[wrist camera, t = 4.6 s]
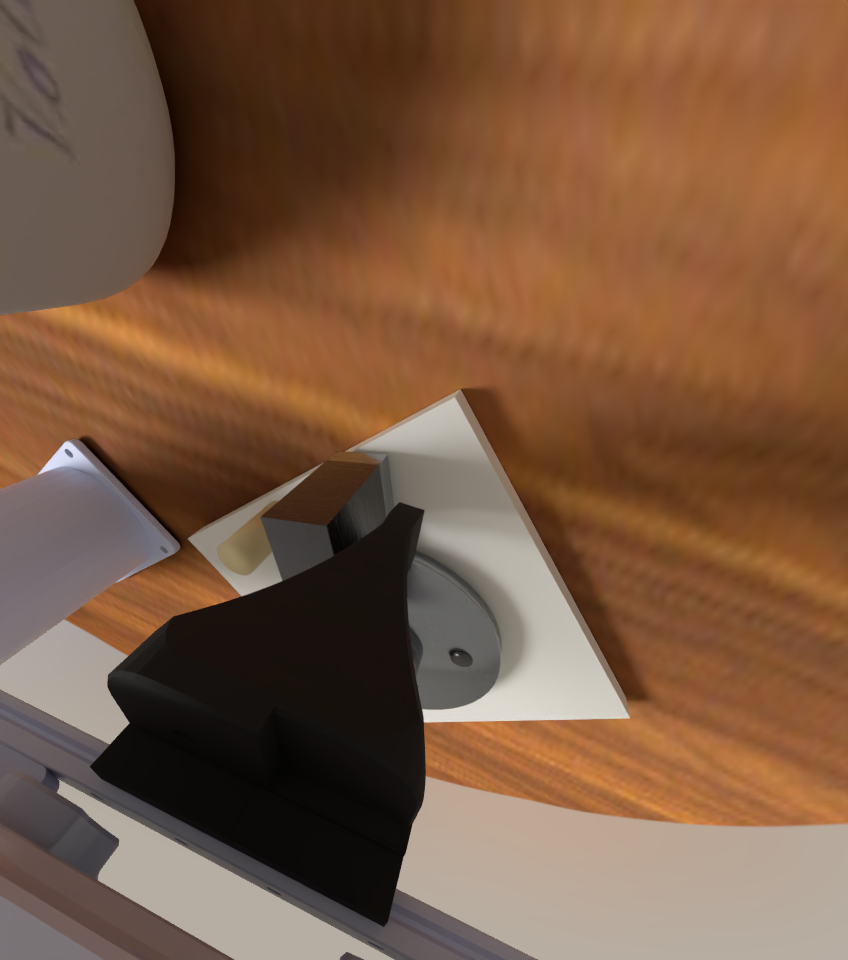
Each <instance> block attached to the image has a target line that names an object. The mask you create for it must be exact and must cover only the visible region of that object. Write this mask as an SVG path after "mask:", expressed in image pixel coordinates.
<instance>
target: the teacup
mask: <svg viewBox="0 0 848 960" xmlns="http://www.w3.org/2000/svg"><path fill="white" fill-rule="evenodd" d="M174 190H175V152H174V142H173V133H172V127H171V122H170V116H169V111H168V106H167V102H166V98H165V95H164V91H163V87H162V83H161V80H160V76H159V73H158V69H157V66H156V62H155V59H154V55H153V52H152V49H151V46H150V43H149V40H148V37H147V35H146V32H145V29H144V26H143V24H142V21H141V18H140V15H139V12H138V10H137V7H136V5H135V3H134V0H0V315H4V314H12V313H20V312H29V311H37V310H43V309H50V308H57V307H64V306H71V305H78V304H83V303H87V302H91V301H95V300H99V299H103V298H106V297H109V296H112V295H114V294H117V293H119V292H121V291H123V290H125V289H127V288H128V287H130V286H131V285H132V284H134V283H135V282H136V281H138V280H139V279H140V278H142V277H143V276H144V274H145V273H146V272H147V271H148V270H149V269H150V268H151V267H152V265H153V264H154V262H155V261H156V259H157V258H158V256H159V254H160V251H161V249H162V247H163V245H164V242H165V240H166V238H167V234H168V230H169V227H170V223H171V216H172V210H173V203H174Z"/></svg>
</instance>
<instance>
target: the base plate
mask: <svg viewBox="0 0 848 960" xmlns="http://www.w3.org/2000/svg"><path fill="white" fill-rule="evenodd" d="M346 452H359V453H373V454H387V455H388V460H389V469H390V477H391V486H392V495H393V503H394V507H395V506H396V505H397V504H398V503H399V502H401V503H404V504H407V505H410V506H413V507H416V508H420V509H423V510H425V511H424V516H423V520H422V525H421V530H420V534H419V539H418V543H417V548H416V551H418V552H420V553H423V554H425V555H427V556H429V557H431V558H433V559H434V560H436V561H438V562H440V563H442V564H443V565H445V566H446V567H448V568H449V569H451V570H452V571H454V572H455V573H456V574H458V575H459V576H460V577H461V578H462V579H464V580H465V581H466V582H467V583H468V584H469V585H470V586H471V587H472V588H473V589H474V590H475V591H476V592H477V593H478V594H479V595H480V596H481V598H482V599H483V600H484V601H485V603H486V604H487V605H488V607H489V609H490V610H491V612H492V614H493V615H494V617H495V620H496V622H497V625H498V627H499V630H500V635H501V640H502V653H501V664H500V670H499V675H498V678H497V680H496V682H495V684H494V686H493V687H492V688H491V689H490V691H489V692H488V693H487V694H485V695H484V696H483V697H482V698H480V699H479V700H477V701H475V702H473V703H471V704H468V705H465V706H462V707H458V708H453V709H444V710H426V709H422V711H423V716H424V722H465V721H518V720H571V719H624V718H630V714H629V710H628V705H627V701H626V696H625V695H624V693H623V691H622V689H621V687H620V685H619V683H618V682H617V680H616V678H615V676H614V674H613V672H612V670H611V669H610V667H609V665H608V663H607V661H606V659H605V657H604V655H603V654H602V652H601V650H600V648H599V646H598V644H597V642H596V641H595V639H594V637H593V635H592V633H591V631H590V629H589V628H588V626H587V624H586V622H585V620H584V618H583V616H582V614H581V613H580V611H579V609H578V607H577V605H576V603H575V601H574V600H573V598H572V596H571V594H570V592H569V590H568V588H567V587H566V585H565V583H564V581H563V579H562V577H561V575H560V573H559V572H558V570H557V568H556V566H555V564H554V562H553V560H552V559H551V557H550V555H549V553H548V551H547V549H546V547H545V545H544V544H543V542H542V540H541V538H540V536H539V534H538V532H537V531H536V529H535V527H534V525H533V523H532V521H531V519H530V518H529V516H528V514H527V512H526V510H525V508H524V506H523V504H522V503H521V501H520V499H519V497H518V495H517V493H516V491H515V490H514V488H513V486H512V484H511V482H510V480H509V478H508V477H507V475H506V473H505V471H504V469H503V467H502V465H501V463H500V462H499V460H498V458H497V456H496V454H495V452H494V450H493V449H492V447H491V445H490V443H489V441H488V439H487V437H486V436H485V434H484V432H483V430H482V428H481V426H480V424H479V422H478V421H477V419H476V417H475V415H474V413H473V411H472V409H471V408H470V406H469V404H468V402H467V400H466V398H465V396H464V394H463V393H462V391H461V389H460V390H458V391H456V392H454V393H452V394H450V395H449V396H447V397H445V398H443V399H441V400H439V401H437V402H435V403H434V404H432V405H430V406H428V407H426V408H424V409H422V410H421V411H419V412H417V413H415V414H413V415H411V416H409V417H408V418H406V419H404V420H402V421H400V422H398V423H396V424H394V425H393V426H391V427H389V428H387V429H385V430H383V431H381V432H380V433H378V434H376V435H374V436H372V437H370V438H368V439H367V440H365V441H363V442H361V443H359V444H357V445H355V446H353V447H352V448H350V449H348V450H346ZM322 464H323V463H322ZM322 464H320V465H318V466H316V467H314V468H312V469H311V470H309V471H307V472H305V473H303V474H301V475H299V476H298V477H296V478H294V479H292V480H290V481H288V482H286V483H284V484H283V485H281V486H279V487H277V488H275V489H273V490H271V491H270V492H268V493H266V494H264V495H262V496H260V497H258V498H257V499H255V500H253V501H251V502H249V503H247V504H245V505H243V506H242V507H240V508H238V509H236V510H234V511H232V512H230V513H229V514H227V515H225V516H223V517H221V518H219V519H217V520H216V521H214V522H212V523H210V524H208V525H206V526H204V527H202V528H201V529H200V530H198V531H197V532H196V533H194V534H193V535H192V536H190V537H189V538H187V539H188V540H189V541H190V542H191V543H192V544H193V545H194V546H195V547H196V548H197V549H198V550H199V552H200V553H201V554H202V555H203V556H204V557H205V558H206V559H207V560H208V561H209V562H210V563H211V564H212V565H213V566H214V567H215V568H216V569H217V571H218V572H219V573H220V574H221V575H222V576H223V577H224V578H225V579H226V580H227V581H228V582H229V583H230V584H231V585H232V586H233V587H234V588H235V590H236V591H237V592H238V593H239V594H240V595H241V596H244V595H247V594H250V593H252V592H255V591H258V590H261V589H263V588H266V587H269V586H271V585H274V584H276V583H279V582H281V581H282V578H281V575H280V572H279V570H278V567H277V564H276V561H275V558H274V555H273V552H272V549H271V547H270V544H269V541H268V538H267V535H266V532H265V529H264V526H263V524H262V521H261V518H260V517H261V516H262V515H263V514H264V513H265V512H267V511H268V510H269V509H270V508H271V507H272V506H274V505H275V504H276V503H277V502H278V501H279V500H281V499H282V498H283V497H284V496H285V495H287V494H288V493H289V492H290V491H291V490H292V489H294V488H295V487H296V486H297V485H298V484H299V483H301V482H302V481H303V480H304V479H305V478H306V477H308V476H309V475H310V474H311V473H312V472H313V471H315V470H316V469H317V468H318V467H319V466H321V465H322Z"/></svg>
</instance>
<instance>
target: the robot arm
mask: <svg viewBox="0 0 848 960" xmlns="http://www.w3.org/2000/svg"><path fill="white" fill-rule="evenodd" d="M424 511H425V510H423V509H420V508H416V507H413V506H410V505H407V504H404V503H401V502H399V503H398V504H397V505H396V506H395V507H394V508H393V509H392V510H391V511H390V513H389V514H388V516H387V517H386V519H385V521H384V522H383V523H382V524H381V525H379V526H378V527H377V528H375V529H374V530H372V531H371V532H370V533H368V534H367V535H366V536H364V537H363V538H361V539H360V540H358V541H357V542H355V543H353V544H352V545H350V546H349V547H347V548H346V549H344V550H342V551H341V552H339V553H337V554H336V555H334V556H332V557H330V558H329V559H327V560H325V561H323V562H321V563H319V564H317V565H315V566H314V567H312V568H310V569H308V570H305V571H303V572H301V573H299V574H297V575H295V576H292V577H290V578H288V579H286V580H283V581H281V582H279V583H276V584H274V585H271V586H269V587H266V588H263V589H261V590H258V591H255V592H252V593H250V594H247V595H244V596H242V597H239V598H236V599H233V600H230V601H227V602H224V603H220V604H217V605H213V606H210V607H206V608H203V609H199V610H196V611H192V612H189V613H185V614H181V615H177V616H174V617H172V618H171V619H170V620H169V621H168V622H166V623H165V624H164V625H163V626H161V627H160V628H159V629H158V630H156V631H155V632H154V633H153V634H152V635H151V636H150V637H149V638H148V639H146V640H145V641H144V642H143V643H142V644H141V645H140V646H139V647H138V648H137V649H136V650H135V651H133V652H132V653H131V654H130V655H129V656H128V657H127V658H126V659H125V660H124V661H123V662H122V663H120V664H119V666H117V667H116V668H115V669H114V670H113V671H112V672H111V673H110V674H109V675H108V689H109V691H110V693H111V695H112V696H113V698H114V699H115V701H116V703H117V704H118V706H119V707H120V709H121V710H122V712H123V713H124V715H125V716H126V718H127V719H128V721H129V722H130V723H129V725H128V726H127V727H126V728H125V729H124V730H123V731H122V732H121V733H120V734H119V735H118V736H117V737H116V739H115V740H114V741H113V742H112V743H111V744H110V745H109V744H107V743H105V742H103V741H101V740H99V739H97V738H95V737H93V736H91V735H89V734H87V733H85V732H83V731H81V730H79V729H77V728H75V727H73V726H71V725H69V724H67V723H65V722H64V721H61V720H60V719H57V718H56V717H54V716H52V715H50V714H48V713H46V712H44V711H42V710H40V709H38V708H36V707H34V706H32V705H30V704H28V703H26V702H24V701H22V700H20V699H18V698H16V697H14V696H12V695H10V694H8V693H6V692H4V691H2V690H0V960H234V959H232V958H231V957H229V956H227V955H225V954H224V953H222V952H220V951H218V950H217V949H215V948H213V947H212V946H210V945H208V944H206V943H205V942H203V941H201V940H199V939H198V938H196V937H194V936H193V935H191V934H189V933H187V932H186V931H183V930H182V929H180V928H179V927H177V926H175V925H174V924H172V923H170V922H168V921H167V920H165V919H163V918H162V917H160V916H158V915H156V914H155V913H153V912H151V911H149V910H147V909H146V908H144V907H143V906H141V905H139V904H137V903H136V902H134V901H132V900H130V899H129V898H127V897H125V896H124V895H122V894H120V893H118V892H116V891H115V890H113V889H111V888H110V887H108V886H106V885H105V884H103V883H101V882H99V881H98V874H99V871H100V870H101V868H102V867H103V866H104V864H105V863H106V862H107V860H108V859H109V858H110V856H111V855H112V854H113V852H114V851H115V850H116V848H117V847H118V845H119V839H118V838H116V837H115V836H114V835H112V834H111V833H109V832H108V831H107V830H105V829H104V828H102V827H101V826H100V825H99V824H98V823H96V822H95V821H94V820H93V819H91V818H90V817H89V816H88V815H87V814H86V813H85V812H84V810H83V809H82V808H80V807H78V806H77V805H75V804H74V803H72V802H70V801H69V800H67V799H66V798H64V797H62V796H61V795H59V794H58V793H57V791H58V789H59V780H61V781H63V782H65V783H66V784H68V785H70V786H72V787H74V788H76V789H78V790H79V791H81V792H83V793H85V794H87V795H89V796H91V797H93V798H94V799H96V800H98V801H100V802H102V803H104V804H106V805H107V806H109V807H111V808H113V809H115V810H117V811H119V812H121V813H122V814H124V815H126V816H128V817H130V818H132V819H134V820H135V821H137V822H139V823H141V824H143V825H145V826H147V827H149V828H150V829H152V830H154V831H156V832H158V833H160V834H162V835H163V836H165V837H167V838H169V839H171V840H173V841H175V842H177V843H178V844H180V845H182V846H184V847H186V848H188V849H190V850H191V851H194V852H195V853H197V854H199V855H201V856H203V857H205V858H206V859H208V860H210V861H212V862H214V863H216V864H218V865H219V866H221V867H223V868H225V869H227V870H229V871H231V872H233V873H235V874H236V875H238V876H240V877H242V878H244V879H246V880H247V881H249V882H251V883H253V884H255V885H257V886H259V887H260V888H262V889H264V890H266V891H268V892H270V893H272V894H274V895H275V896H277V897H279V898H281V899H283V900H285V901H287V902H289V903H290V904H292V905H294V906H296V907H298V908H300V909H302V910H304V911H305V912H307V913H309V914H311V915H313V916H315V917H317V918H318V919H320V920H322V921H324V922H326V923H328V924H330V925H331V926H333V927H335V928H337V929H339V930H341V931H343V932H344V933H346V934H348V935H350V936H352V937H354V938H356V939H358V940H359V941H361V942H363V943H365V944H367V945H369V946H371V947H373V948H375V949H376V950H378V951H380V952H382V953H384V954H386V955H387V956H389V957H391V958H393V959H395V960H537V959H535V958H533V957H531V956H529V955H527V954H525V953H523V952H521V951H519V950H517V949H515V948H513V947H511V946H509V945H507V944H505V943H503V942H501V941H499V940H497V939H495V938H493V937H491V936H489V935H487V934H485V933H483V932H481V931H479V930H478V929H475V928H474V927H472V926H470V925H468V924H466V923H464V922H462V921H460V920H458V919H456V918H454V917H452V916H450V915H448V914H446V913H444V912H442V911H440V910H437V909H436V908H434V907H432V906H430V905H428V904H426V903H424V902H422V901H420V900H418V899H416V898H414V897H412V896H410V895H408V894H406V893H404V892H402V891H400V890H398V889H396V885H397V881H398V878H399V873H400V869H401V865H402V861H403V856H404V855H405V853H406V849H407V845H408V841H409V836H410V832H411V828H412V823H413V822H414V820H415V818H416V816H417V814H418V812H419V810H420V808H421V806H422V803H423V798H424V791H425V775H426V768H425V741H424V716H423V711H422V706H421V702H420V697H419V691H418V686H417V681H416V675H415V668H414V662H413V656H412V647H411V638H410V630H409V619H408V602H407V574H408V572H409V569H410V567H411V564H412V562H413V559H414V556H415V553H416V548H417V543H418V539H419V534H420V530H421V525H422V520H423V516H424ZM179 550H180V544H179V543H178V542H177V541H176V540H175V538H174V537H173V536H172V535H171V534H170V533H169V532H168V531H167V530H166V529H165V528H164V527H163V526H162V525H161V524H160V523H159V522H158V521H157V520H156V519H155V518H154V517H153V516H152V515H151V514H150V512H149V511H148V510H147V509H146V508H145V507H144V506H143V505H142V504H141V503H140V502H139V501H138V500H137V499H136V498H135V497H134V496H133V495H132V494H131V493H130V492H129V491H128V490H127V489H126V488H125V486H124V485H123V484H122V483H121V482H120V481H119V480H118V479H117V478H116V477H115V476H114V475H113V474H112V473H111V472H110V471H109V470H108V469H107V468H106V467H105V466H104V465H103V464H102V463H101V461H100V460H99V459H98V458H97V457H96V456H95V455H94V454H93V453H92V452H91V451H90V450H89V449H88V448H87V447H86V446H85V445H84V444H83V443H82V442H81V441H79V440H77V439H71V440H68V441H66V442H65V443H64V444H63V445H62V446H61V447H60V449H59V450H58V451H57V452H56V453H55V454H54V456H53V457H52V458H51V459H50V460H49V462H48V463H47V464H46V465H45V466H44V467H43V469H42V470H41V471H40V472H39V473H38V475H36V476H33V477H30V478H28V479H25V480H23V481H20V482H18V483H15V484H12V485H10V486H7V487H5V488H2V489H0V665H1V664H2V663H4V662H5V661H6V660H8V659H9V658H11V657H12V656H13V655H15V654H16V653H18V652H19V651H20V650H21V649H23V648H25V647H26V646H27V645H29V644H30V643H31V642H33V641H34V640H36V639H37V638H39V637H40V636H41V635H43V634H44V633H46V632H47V631H48V630H50V629H51V628H53V627H54V626H55V625H57V624H58V623H60V622H61V621H62V620H64V619H65V618H67V617H68V616H69V615H71V614H72V613H74V612H75V611H76V610H78V609H79V608H81V607H82V606H83V605H85V604H86V603H88V602H89V601H90V600H92V599H93V598H95V597H96V596H97V595H99V594H100V593H102V592H103V591H104V590H106V589H107V588H109V587H110V586H111V585H113V584H114V583H116V582H119V581H121V580H123V579H125V578H127V577H129V576H131V575H133V574H135V573H137V572H139V571H141V570H143V569H145V568H147V567H149V566H151V565H153V564H155V563H157V562H159V561H161V560H163V559H165V558H167V557H168V556H170V555H172V554H174V553H176V552H177V551H179ZM58 779H59V780H58ZM340 960H364V959H361V958H359V957H357V956H355V955H352V954H350V953H348V952H346V953H345V954H344V955H343V956H341V958H340Z"/></svg>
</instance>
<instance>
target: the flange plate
mask: <svg viewBox="0 0 848 960" xmlns="http://www.w3.org/2000/svg"><path fill="white" fill-rule="evenodd" d="M393 508H394V503H393V495H392V486H391V477H390V469H389V460H388V455H387V454H373V453H359V452H346V451H337V452H336V453H335V454H333V455H332V456H331V457H330V458H329V459H328V460H326V461H325V462H324V463H323V464H322V465H321V466H319V467H318V468H317V469H316V470H315V471H313V472H312V473H311V474H310V475H309V476H308V477H306V478H305V479H304V480H303V481H302V482H301V483H299V484H298V485H297V486H296V487H295V488H294V489H292V490H291V491H290V492H289V493H288V494H287V495H285V496H284V497H283V498H282V499H281V500H279V501H278V502H277V503H276V504H275V505H274V506H272V507H271V508H270V509H269V510H268V511H267V512H265V513H264V514H263V515H262V516H261V517H260V518H261V521H262V524H263V526H264V529H265V532H266V535H267V538H268V541H269V544H270V547H271V549H272V552H273V555H274V558H275V561H276V564H277V567H278V570H279V572H280V575H281V578H282V581H283V580H286V579H288V578H290V577H292V576H295V575H297V574H299V573H301V572H303V571H305V570H308V569H310V568H312V567H314V566H315V565H317V564H319V563H321V562H323V561H325V560H327V559H329V558H330V557H332V556H334V555H336V554H337V553H339V552H341V551H342V550H344V549H346V548H347V547H349V546H350V545H352V544H353V543H355V542H357V541H358V540H360V539H361V538H363V537H364V536H366V535H367V534H368V533H370V532H371V531H372V530H374V529H375V528H377V527H378V526H379V525H381V524H382V523H383V522H384V521H385V519H386V517H387V516H388V514H389V513H390V511H391V510H392V509H393ZM407 602H408V619H409V630H410V638H411V647H412V656H413V662H414V668H415V675H416V681H417V686H418V691H419V697H420V702H421V706H422V709H426V710H444V709H453V708H458V707H462V706H465V705H468V704H471V703H473V702H475V701H477V700H479V699H480V698H482V697H483V696H484V695H485V694H487V693H488V692H489V691H490V689H491V688H492V687H493V686H494V684H495V682H496V680H497V678H498V675H499V670H500V664H501V653H502V640H501V635H500V630H499V627H498V625H497V622H496V620H495V617H494V615H493V614H492V612H491V610H490V609H489V607H488V605H487V604H486V603H485V601H484V600H483V599H482V598H481V596H480V595H479V594H478V593H477V592H476V591H475V590H474V589H473V588H472V587H471V586H470V585H469V584H468V583H467V582H466V581H465V580H464V579H462V578H461V577H460V576H459V575H458V574H456V573H455V572H454V571H452V570H451V569H449V568H448V567H446V566H445V565H443V564H442V563H440V562H438V561H436V560H434V559H433V558H431V557H429V556H427V555H425V554H423V553H420V552H418V551H416V553H415V556H414V559H413V562H412V564H411V567H410V569H409V572H408V574H407Z"/></svg>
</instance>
